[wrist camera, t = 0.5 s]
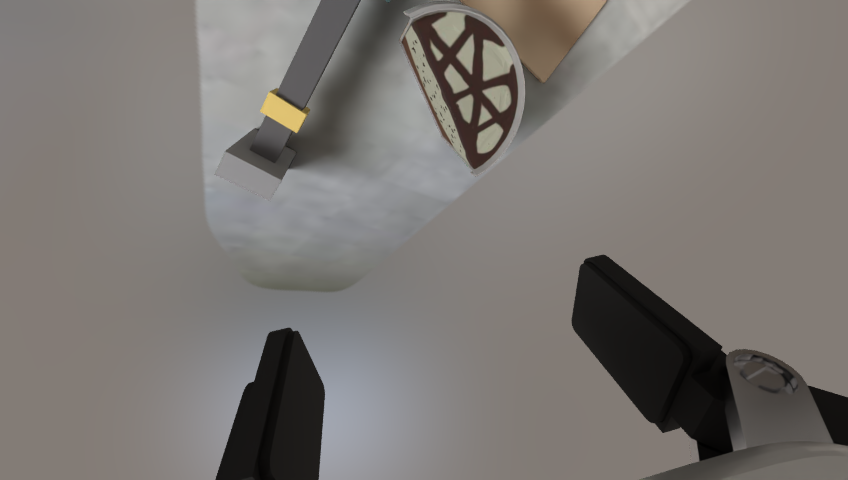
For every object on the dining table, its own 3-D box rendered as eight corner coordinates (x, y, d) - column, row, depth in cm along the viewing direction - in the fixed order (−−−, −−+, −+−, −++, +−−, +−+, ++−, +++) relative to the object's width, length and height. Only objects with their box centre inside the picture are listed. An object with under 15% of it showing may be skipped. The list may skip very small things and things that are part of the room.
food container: (499, 121, 33) (550, 144, 25) (447, 149, 34) (479, 182, 25) (454, -16, 27) (502, -48, 18) (390, 21, 27) (408, 7, 19)
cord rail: (424, -231, 21) (459, -368, 14) (469, -171, 23) (520, -267, 16) (245, 147, 30) (214, 174, 23) (287, 169, 32) (270, 201, 25)
